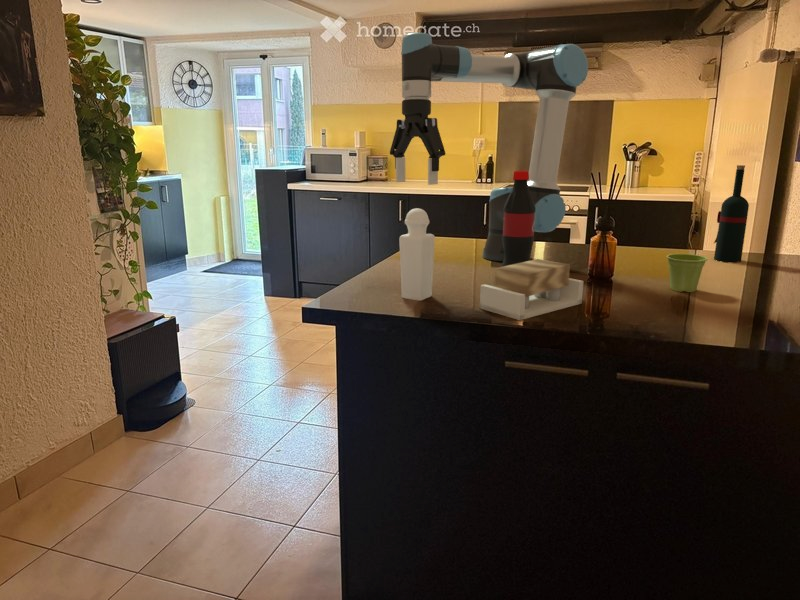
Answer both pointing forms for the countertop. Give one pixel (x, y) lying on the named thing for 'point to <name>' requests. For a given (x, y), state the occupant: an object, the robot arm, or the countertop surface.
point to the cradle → (530, 300)
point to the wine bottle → (732, 223)
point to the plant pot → (685, 271)
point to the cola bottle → (518, 221)
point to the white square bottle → (416, 257)
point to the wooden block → (532, 276)
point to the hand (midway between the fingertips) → (416, 183)
